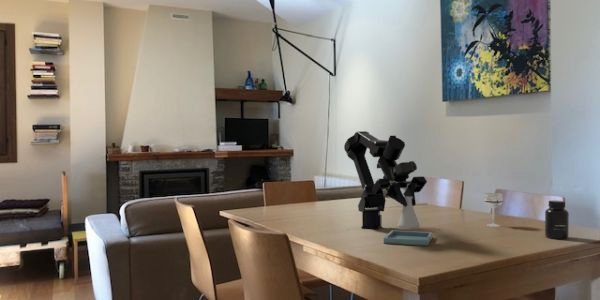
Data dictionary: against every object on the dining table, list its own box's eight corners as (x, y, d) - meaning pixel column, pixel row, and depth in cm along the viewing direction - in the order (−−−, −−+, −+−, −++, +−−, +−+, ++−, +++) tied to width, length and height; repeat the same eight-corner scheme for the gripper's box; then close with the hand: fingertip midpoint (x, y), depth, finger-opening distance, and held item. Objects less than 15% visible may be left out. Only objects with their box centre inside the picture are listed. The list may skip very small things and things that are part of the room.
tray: (383, 243, 149) (383, 237, 149) (391, 235, 162) (391, 230, 162) (427, 246, 144) (427, 240, 144) (432, 237, 157) (432, 232, 157)
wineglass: (499, 224, 181) (499, 192, 180) (505, 227, 174) (505, 194, 174) (481, 224, 181) (481, 193, 181) (486, 227, 174) (486, 194, 174)
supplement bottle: (560, 240, 149) (559, 203, 149) (540, 237, 155) (540, 200, 155) (573, 238, 152) (573, 201, 152) (553, 234, 158) (553, 199, 158)
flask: (412, 230, 148) (411, 198, 148) (392, 227, 153) (392, 197, 153) (424, 226, 153) (423, 196, 153) (404, 224, 158) (403, 195, 158)
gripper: (376, 154, 152) (396, 191, 142) (423, 152, 160) (445, 188, 150) (364, 176, 160) (382, 213, 150) (409, 174, 167) (429, 209, 157)
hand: (410, 205), depth 152 cm, fingers closed on flask, 3 cm apart
